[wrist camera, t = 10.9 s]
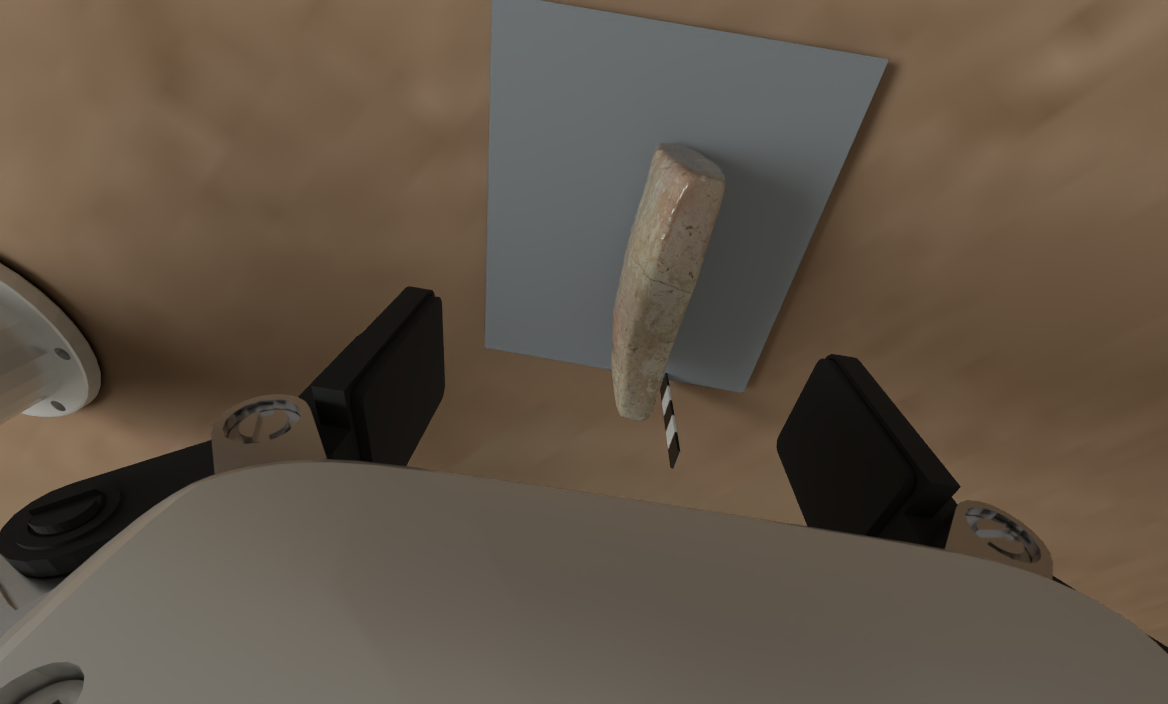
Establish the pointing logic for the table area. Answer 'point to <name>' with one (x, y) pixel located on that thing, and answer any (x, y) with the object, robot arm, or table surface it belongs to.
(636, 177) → the mat
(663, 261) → the cuneiform tablet
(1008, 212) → the table surface
